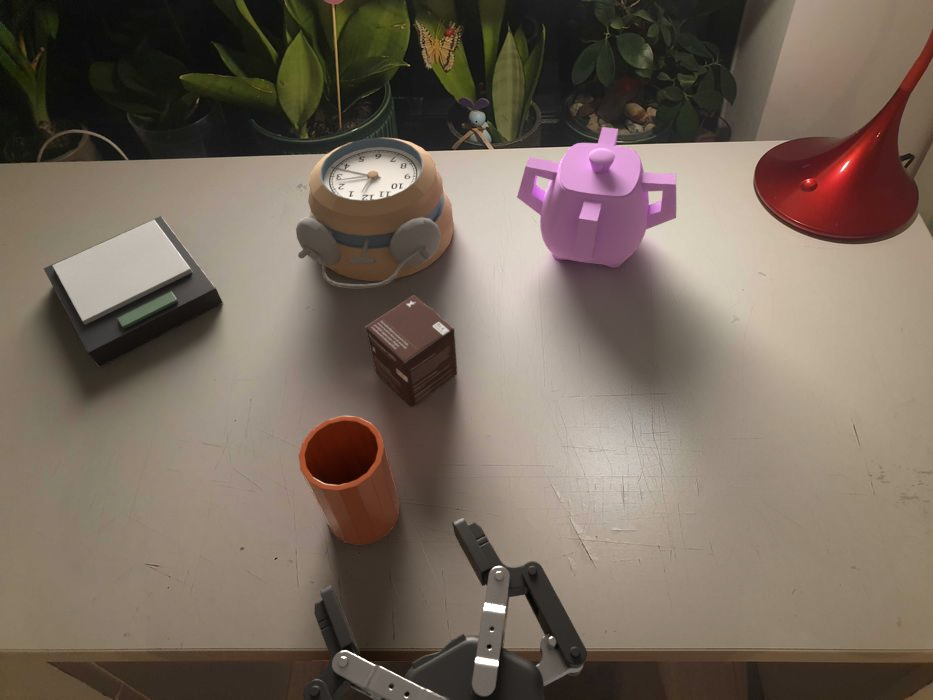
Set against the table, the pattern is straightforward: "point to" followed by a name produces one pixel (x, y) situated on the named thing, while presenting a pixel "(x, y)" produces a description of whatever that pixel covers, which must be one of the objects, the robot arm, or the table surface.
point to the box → (413, 350)
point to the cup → (351, 479)
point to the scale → (131, 289)
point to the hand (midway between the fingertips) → (394, 557)
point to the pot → (597, 201)
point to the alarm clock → (376, 212)
